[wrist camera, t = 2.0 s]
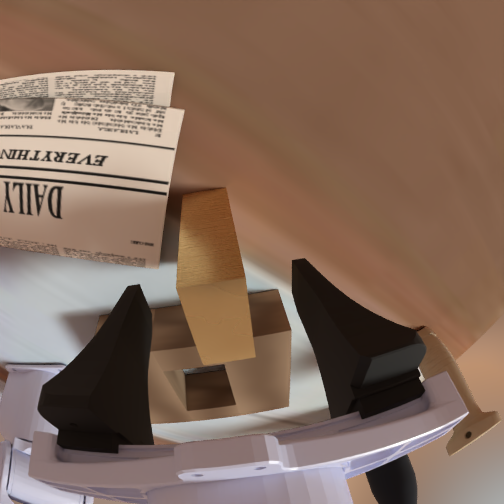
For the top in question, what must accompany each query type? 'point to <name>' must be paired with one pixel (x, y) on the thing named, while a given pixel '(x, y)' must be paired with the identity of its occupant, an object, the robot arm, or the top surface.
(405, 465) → the wine bottle
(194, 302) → the wooden block
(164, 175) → the newspaper
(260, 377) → the well block
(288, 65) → the top surface
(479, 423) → the handle
